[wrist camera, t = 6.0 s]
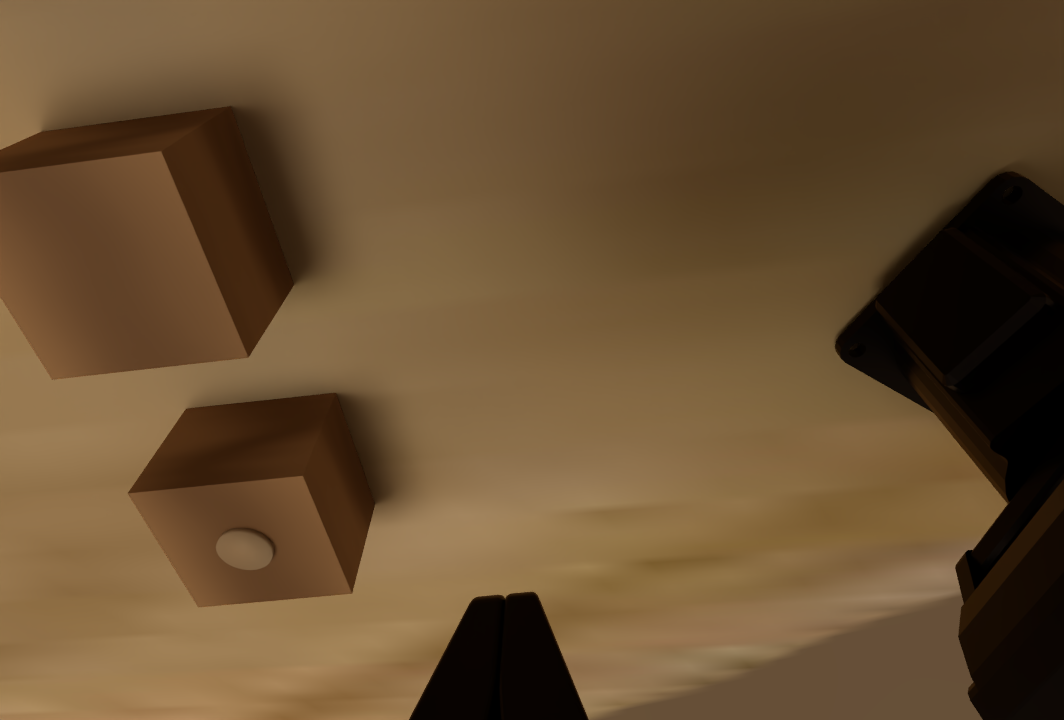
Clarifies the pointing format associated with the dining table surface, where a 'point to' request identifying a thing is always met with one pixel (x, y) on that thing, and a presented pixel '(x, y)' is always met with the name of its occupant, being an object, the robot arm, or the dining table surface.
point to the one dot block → (259, 501)
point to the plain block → (138, 244)
